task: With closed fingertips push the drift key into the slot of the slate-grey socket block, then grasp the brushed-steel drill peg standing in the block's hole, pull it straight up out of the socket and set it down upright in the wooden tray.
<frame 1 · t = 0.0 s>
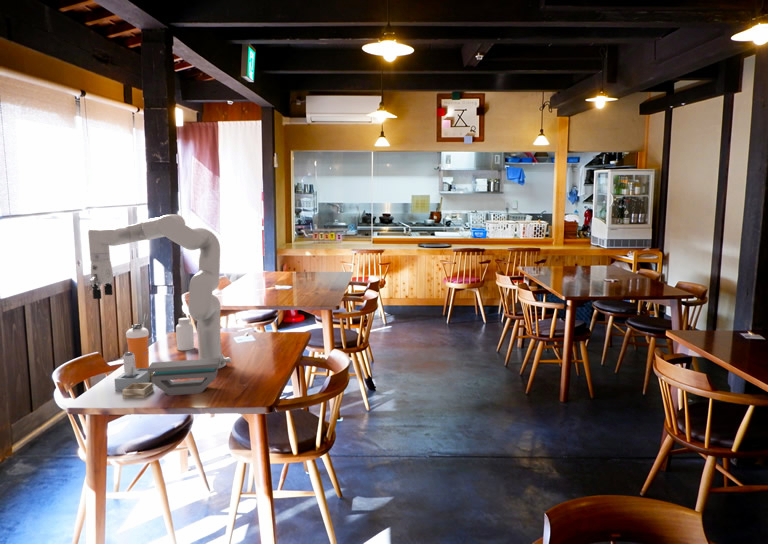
hand: (103, 296, 253), 31 cm above the table, fingers open, 9 cm apart
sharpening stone: (186, 391, 224), on the table
socket block: (135, 384, 233), on the table
pill bottle: (185, 349, 286), on the table
drift key: (156, 376, 237), point 2 cm above the table, slide at 0.0 cm
wooden tray: (138, 394, 221), on the table
shaker bottle: (140, 372, 250), on the table
drill peg: (131, 387, 229), resting in socket block
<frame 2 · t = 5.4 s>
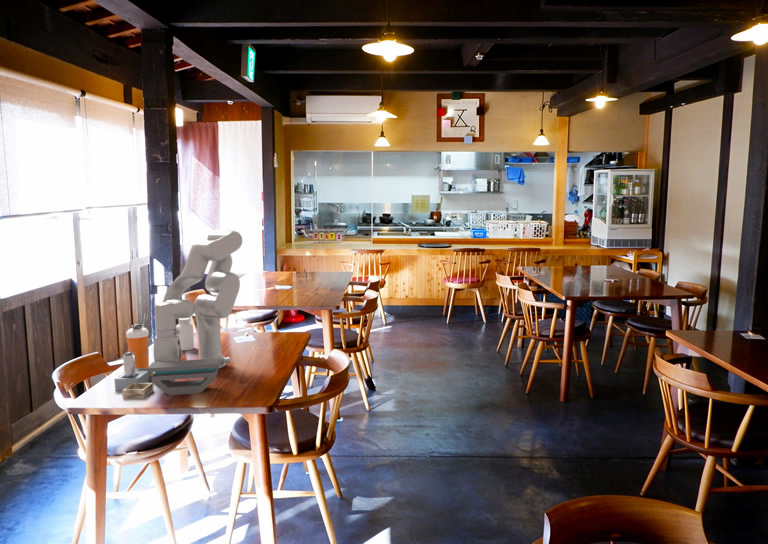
hand: (169, 377, 237), 1 cm above the table, fingers closed
drift key: (154, 376, 237), point 2 cm above the table, slide at 0.8 cm, touching gripper
everything else where it was.
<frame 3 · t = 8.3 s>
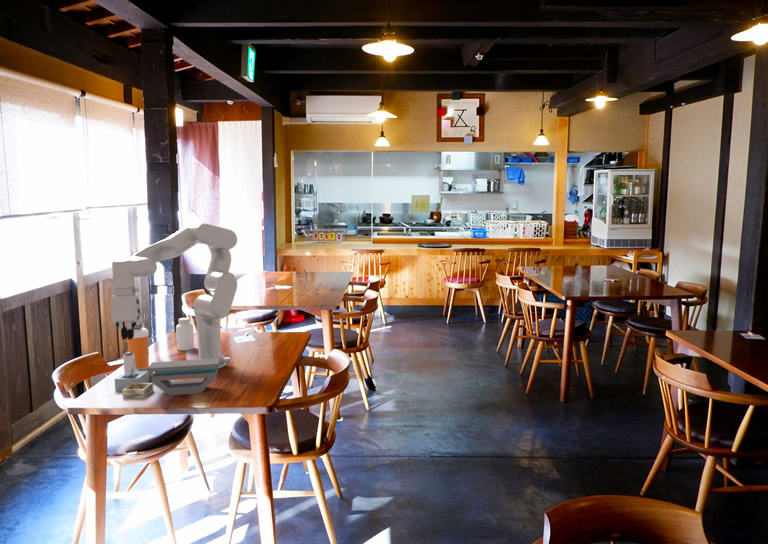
hand: (127, 338, 227), 19 cm above the table, fingers closed
drift key: (148, 376, 237), point 2 cm above the table, slide at 3.3 cm
everything else where it was.
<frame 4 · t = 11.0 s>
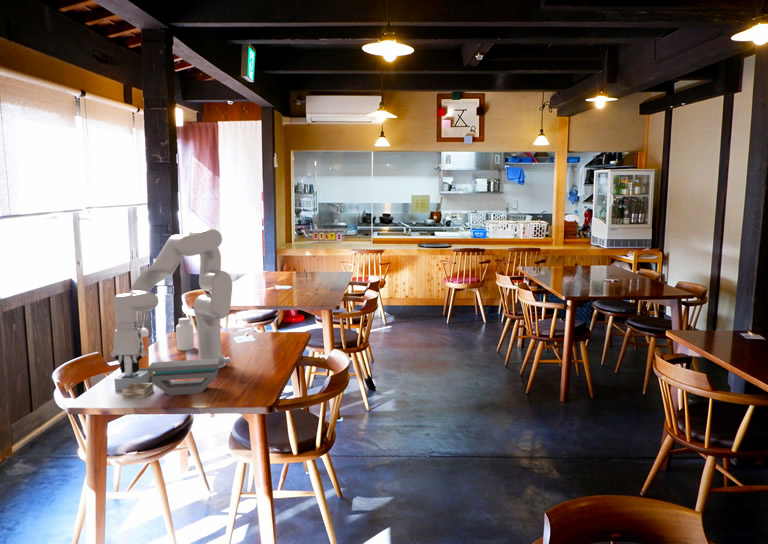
hand: (130, 371, 229), 6 cm above the table, fingers closed on drill peg, 4 cm apart
drill peg: (131, 387, 229), resting in socket block, touching gripper
everything else where it was.
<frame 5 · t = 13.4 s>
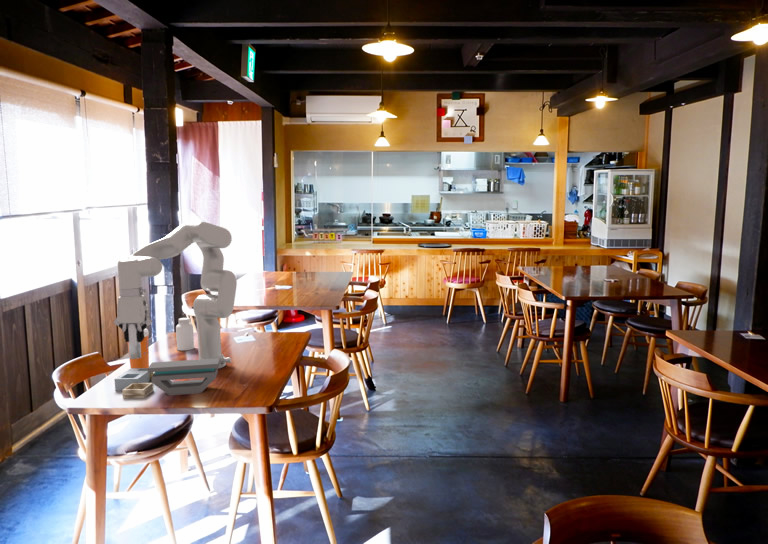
hand: (134, 340, 218), 21 cm above the table, fingers closed on drill peg, 4 cm apart
drill peg: (135, 357, 219), point 14 cm above the table, touching gripper
everything else where it was.
when the fingers open (8 cm above the table, at t = 15.8 s): drill peg stays where it is, resting on wooden tray.
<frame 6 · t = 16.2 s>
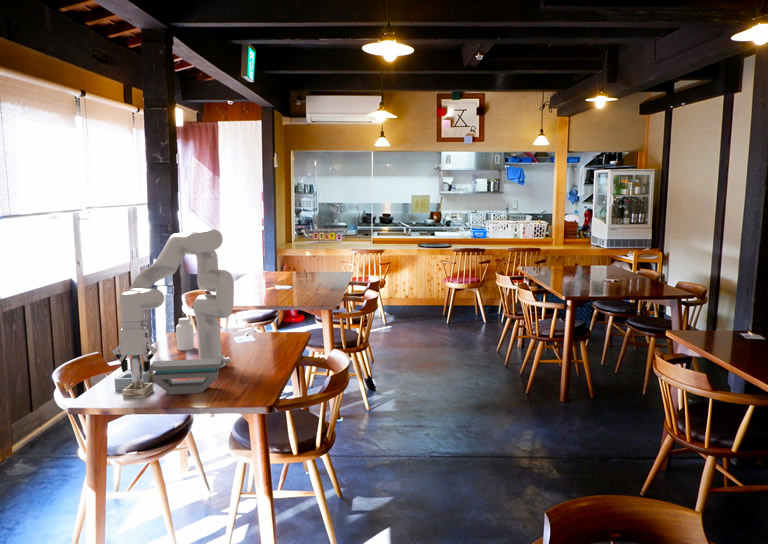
hand: (136, 370, 220), 9 cm above the table, fingers open, 7 cm apart
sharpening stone: (187, 390, 224), on the table, touching gripper
drill peg: (138, 391, 221), point 1 cm above the table, touching wooden tray
everything else where it was.
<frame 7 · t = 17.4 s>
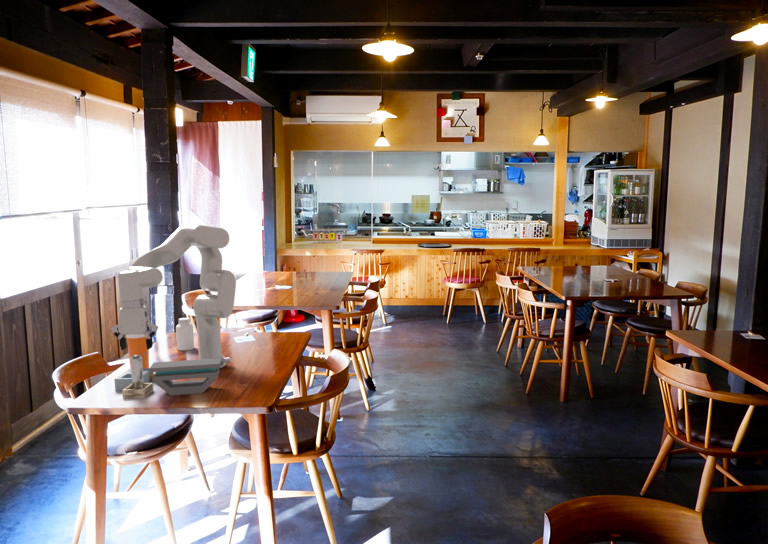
hand: (136, 348, 219), 17 cm above the table, fingers open, 9 cm apart
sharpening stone: (188, 391, 224), on the table
everything else where it was.
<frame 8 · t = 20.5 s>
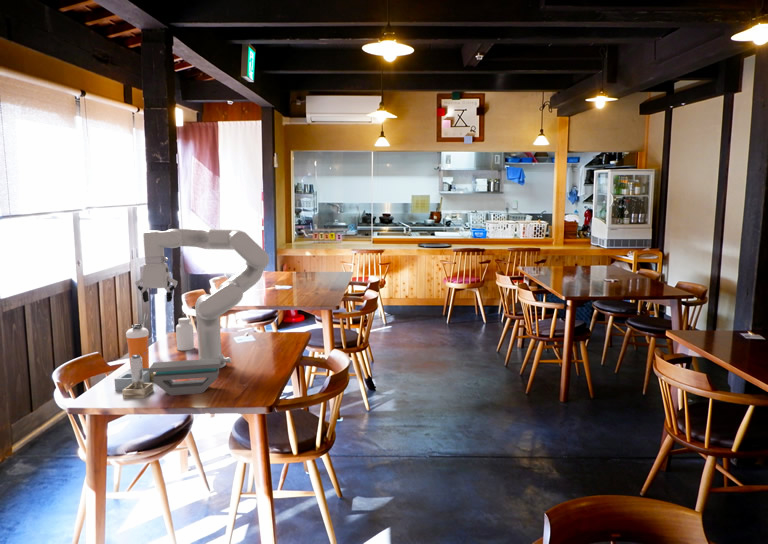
hand: (157, 301, 244), 30 cm above the table, fingers open, 9 cm apart
nothing on the table moved.
at the end: drift key slide at 3.3 cm; drill peg 0.1 cm off-centre on the wooden tray, point 1.0 cm above the wooden tray's base; drill peg tilted 1° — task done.
